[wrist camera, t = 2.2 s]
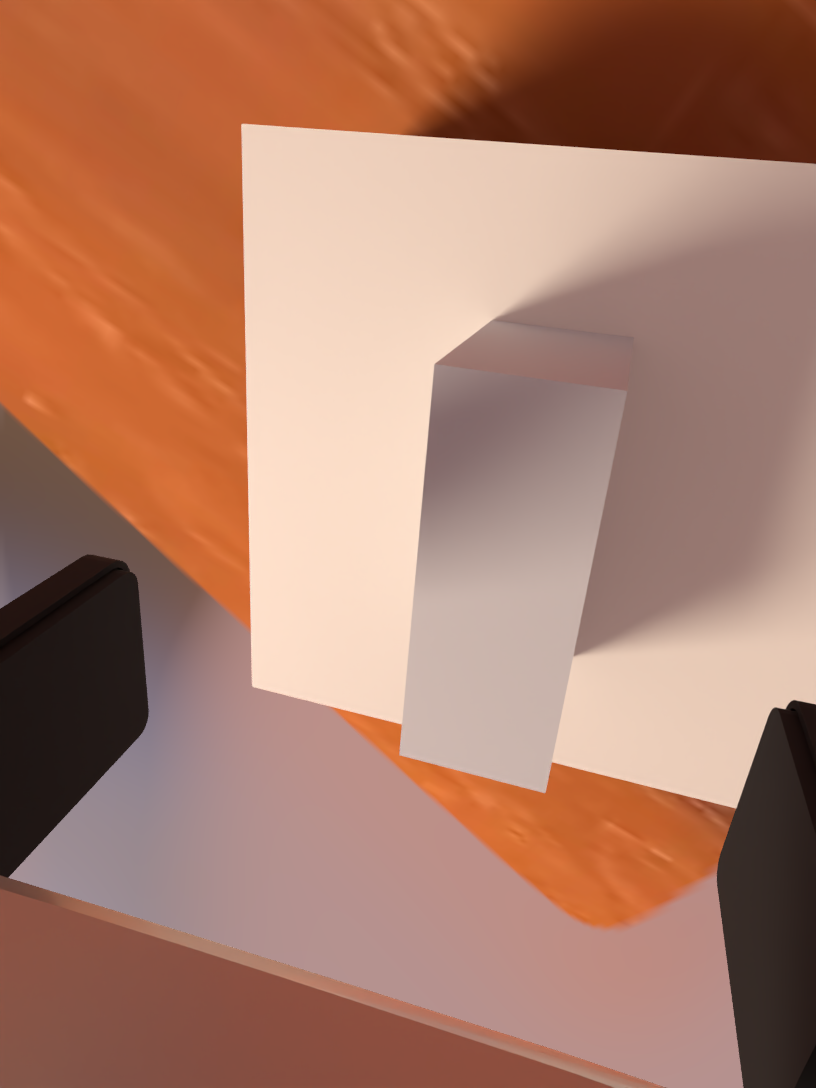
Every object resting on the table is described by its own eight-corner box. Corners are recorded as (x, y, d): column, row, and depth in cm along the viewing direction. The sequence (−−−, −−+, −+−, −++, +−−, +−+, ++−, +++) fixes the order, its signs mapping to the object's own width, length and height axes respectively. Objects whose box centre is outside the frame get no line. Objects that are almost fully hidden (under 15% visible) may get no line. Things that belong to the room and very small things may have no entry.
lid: (1003, 179, 14) (1221, 167, 9) (773, 792, 20) (815, 999, 15) (262, 127, 17) (90, 96, 12) (266, 668, 23) (156, 803, 18)
